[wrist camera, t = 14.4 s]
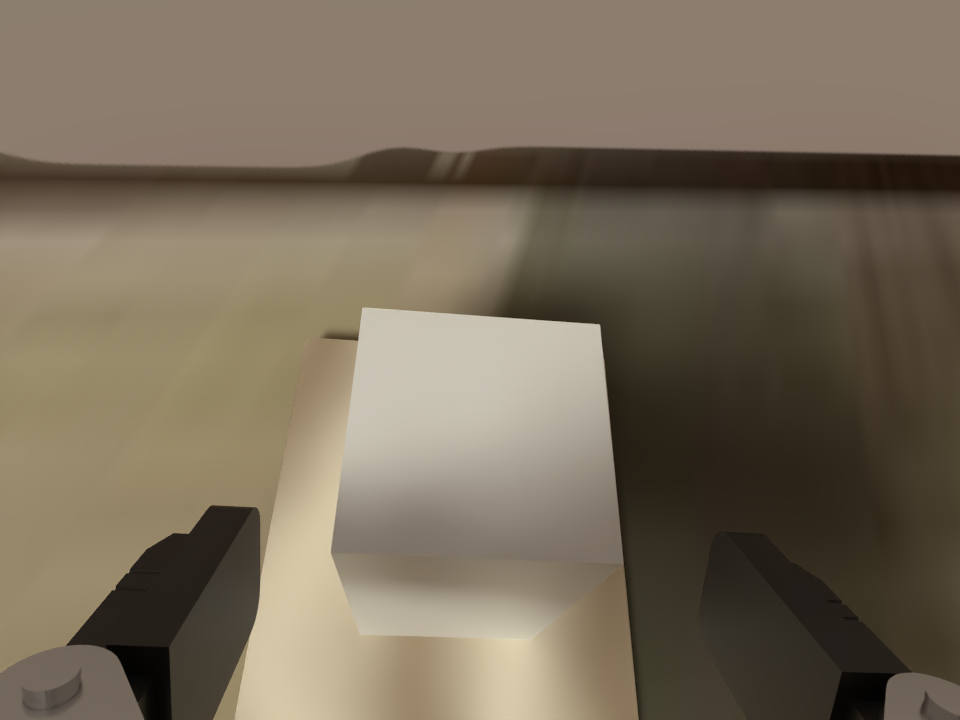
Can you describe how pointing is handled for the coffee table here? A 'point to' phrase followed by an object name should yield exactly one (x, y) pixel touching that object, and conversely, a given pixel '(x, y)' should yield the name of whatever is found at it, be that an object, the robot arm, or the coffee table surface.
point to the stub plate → (402, 659)
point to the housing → (474, 475)
